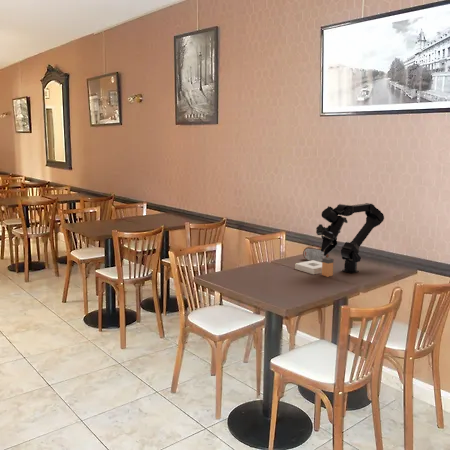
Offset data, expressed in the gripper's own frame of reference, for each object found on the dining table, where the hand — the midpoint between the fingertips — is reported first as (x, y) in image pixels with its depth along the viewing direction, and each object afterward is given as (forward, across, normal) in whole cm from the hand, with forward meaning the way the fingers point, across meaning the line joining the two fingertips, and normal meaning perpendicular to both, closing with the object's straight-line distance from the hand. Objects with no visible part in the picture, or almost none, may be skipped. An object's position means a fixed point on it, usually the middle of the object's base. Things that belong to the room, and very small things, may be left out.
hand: (323, 253), depth 246 cm
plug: (+8, -9, +5) cm, 13 cm away
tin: (+1, -34, -10) cm, 35 cm away
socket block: (+8, -16, -5) cm, 18 cm away
